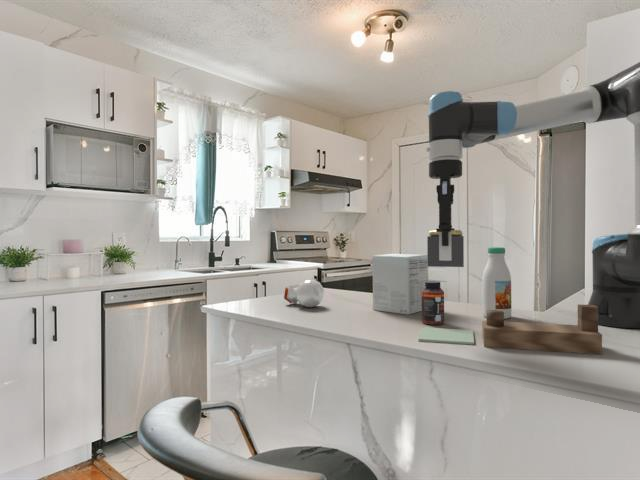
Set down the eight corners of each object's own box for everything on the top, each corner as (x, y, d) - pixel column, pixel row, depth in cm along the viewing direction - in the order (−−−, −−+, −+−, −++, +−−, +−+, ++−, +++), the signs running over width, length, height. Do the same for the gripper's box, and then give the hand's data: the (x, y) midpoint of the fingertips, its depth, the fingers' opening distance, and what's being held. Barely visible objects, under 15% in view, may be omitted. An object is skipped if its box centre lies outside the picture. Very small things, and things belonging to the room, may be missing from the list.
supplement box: (429, 308, 137) (429, 254, 137) (408, 315, 127) (408, 256, 127) (394, 304, 146) (393, 253, 146) (371, 310, 136) (371, 255, 136)
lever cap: (463, 265, 102) (463, 230, 102) (463, 267, 98) (463, 230, 97) (429, 264, 105) (428, 230, 105) (427, 266, 100) (427, 230, 100)
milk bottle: (484, 319, 120) (483, 248, 120) (480, 313, 128) (480, 246, 127) (513, 320, 118) (513, 247, 118) (508, 314, 126) (508, 246, 125)
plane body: (590, 344, 93) (590, 303, 93) (601, 354, 86) (602, 309, 85) (482, 337, 100) (482, 299, 100) (484, 346, 92) (484, 305, 92)
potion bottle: (319, 313, 138) (289, 313, 149) (334, 293, 144) (304, 294, 155) (305, 292, 135) (275, 293, 145) (321, 272, 141) (291, 274, 151)
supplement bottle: (445, 325, 113) (445, 283, 112) (422, 325, 114) (421, 282, 114) (443, 321, 118) (443, 280, 118) (421, 320, 120) (421, 280, 119)
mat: (472, 332, 105) (472, 330, 105) (474, 344, 94) (474, 342, 94) (422, 329, 109) (422, 327, 109) (418, 341, 98) (418, 338, 98)
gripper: (431, 166, 110) (431, 256, 111) (425, 155, 93) (426, 262, 94) (462, 165, 108) (462, 257, 109) (462, 153, 91) (462, 262, 91)
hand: (445, 259), depth 101 cm, fingers closed on lever cap, 5 cm apart
